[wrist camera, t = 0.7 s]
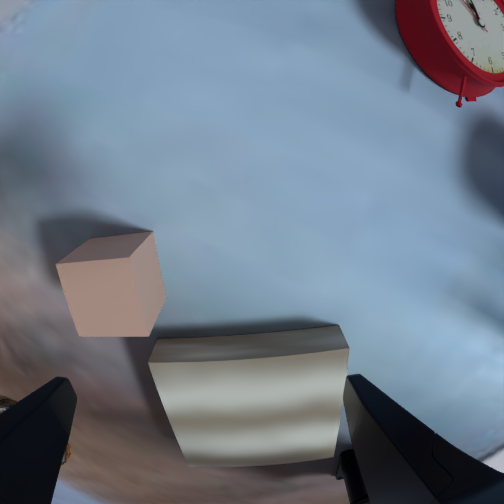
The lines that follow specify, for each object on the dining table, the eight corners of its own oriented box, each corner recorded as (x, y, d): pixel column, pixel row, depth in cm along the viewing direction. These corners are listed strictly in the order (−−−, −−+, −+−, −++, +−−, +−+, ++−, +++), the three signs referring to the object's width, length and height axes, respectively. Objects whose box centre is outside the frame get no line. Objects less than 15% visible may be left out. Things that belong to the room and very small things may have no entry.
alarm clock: (448, 115, 15) (393, -104, 7) (400, 99, 20) (357, -74, 12) (540, 111, 14) (506, -66, 6) (491, 95, 20) (460, -56, 12)
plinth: (328, 434, 28) (333, 457, 25) (192, 444, 28) (189, 466, 26) (338, 324, 23) (349, 348, 21) (157, 338, 24) (147, 362, 21)
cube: (166, 297, 23) (148, 336, 18) (106, 300, 23) (79, 336, 18) (153, 230, 21) (129, 257, 16) (90, 238, 21) (55, 264, 16)
